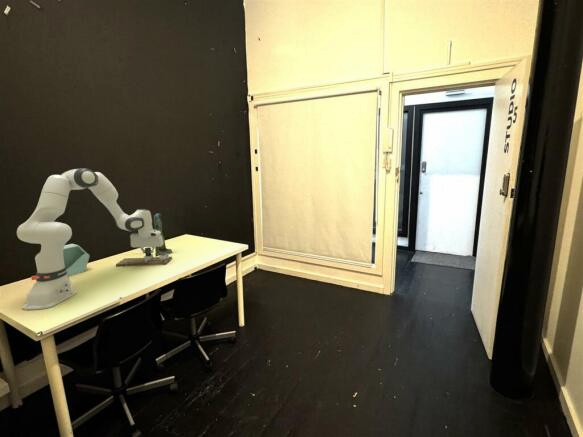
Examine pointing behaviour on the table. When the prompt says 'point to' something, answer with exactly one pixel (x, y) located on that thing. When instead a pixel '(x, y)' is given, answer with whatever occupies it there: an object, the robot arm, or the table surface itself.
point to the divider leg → (148, 255)
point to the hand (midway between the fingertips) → (148, 253)
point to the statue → (159, 227)
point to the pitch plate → (159, 260)
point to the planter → (75, 259)
